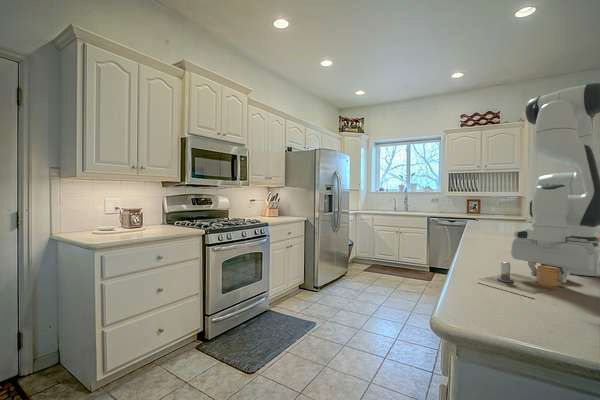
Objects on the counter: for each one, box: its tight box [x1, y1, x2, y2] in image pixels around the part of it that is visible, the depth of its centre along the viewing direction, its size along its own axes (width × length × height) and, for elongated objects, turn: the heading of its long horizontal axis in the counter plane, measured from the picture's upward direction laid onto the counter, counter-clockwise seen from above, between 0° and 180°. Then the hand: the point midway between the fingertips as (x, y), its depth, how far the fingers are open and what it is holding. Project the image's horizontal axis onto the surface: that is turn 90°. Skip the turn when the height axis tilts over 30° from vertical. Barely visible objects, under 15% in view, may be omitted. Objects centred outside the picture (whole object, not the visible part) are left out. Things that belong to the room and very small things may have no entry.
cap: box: [535, 265, 562, 286], centre depth 90 cm, size 5×5×5 cm
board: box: [477, 272, 571, 300], centre depth 91 cm, size 20×16×2 cm
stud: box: [497, 261, 514, 283], centre depth 92 cm, size 4×4×6 cm
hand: (548, 279), depth 90 cm, fingers closed on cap, 5 cm apart
